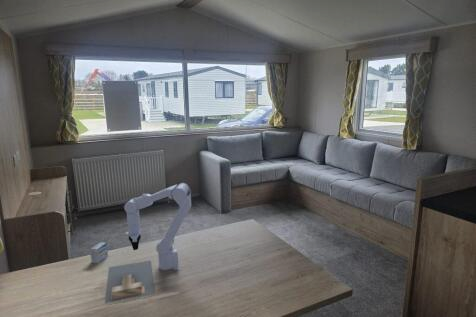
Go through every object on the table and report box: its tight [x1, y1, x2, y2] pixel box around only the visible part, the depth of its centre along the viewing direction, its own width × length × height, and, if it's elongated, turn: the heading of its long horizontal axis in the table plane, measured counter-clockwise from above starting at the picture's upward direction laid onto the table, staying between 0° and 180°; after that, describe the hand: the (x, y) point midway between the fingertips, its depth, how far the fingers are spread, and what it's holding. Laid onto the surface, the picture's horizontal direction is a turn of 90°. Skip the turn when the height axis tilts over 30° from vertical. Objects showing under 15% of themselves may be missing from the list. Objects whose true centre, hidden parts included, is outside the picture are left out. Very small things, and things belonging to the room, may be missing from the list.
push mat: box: [104, 260, 156, 306], centre depth 143 cm, size 20×29×1 cm
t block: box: [112, 274, 142, 297], centre depth 137 cm, size 12×12×2 cm
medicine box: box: [89, 241, 109, 264], centre depth 160 cm, size 8×4×9 cm, turn 168°
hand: (135, 249), depth 154 cm, fingers closed
